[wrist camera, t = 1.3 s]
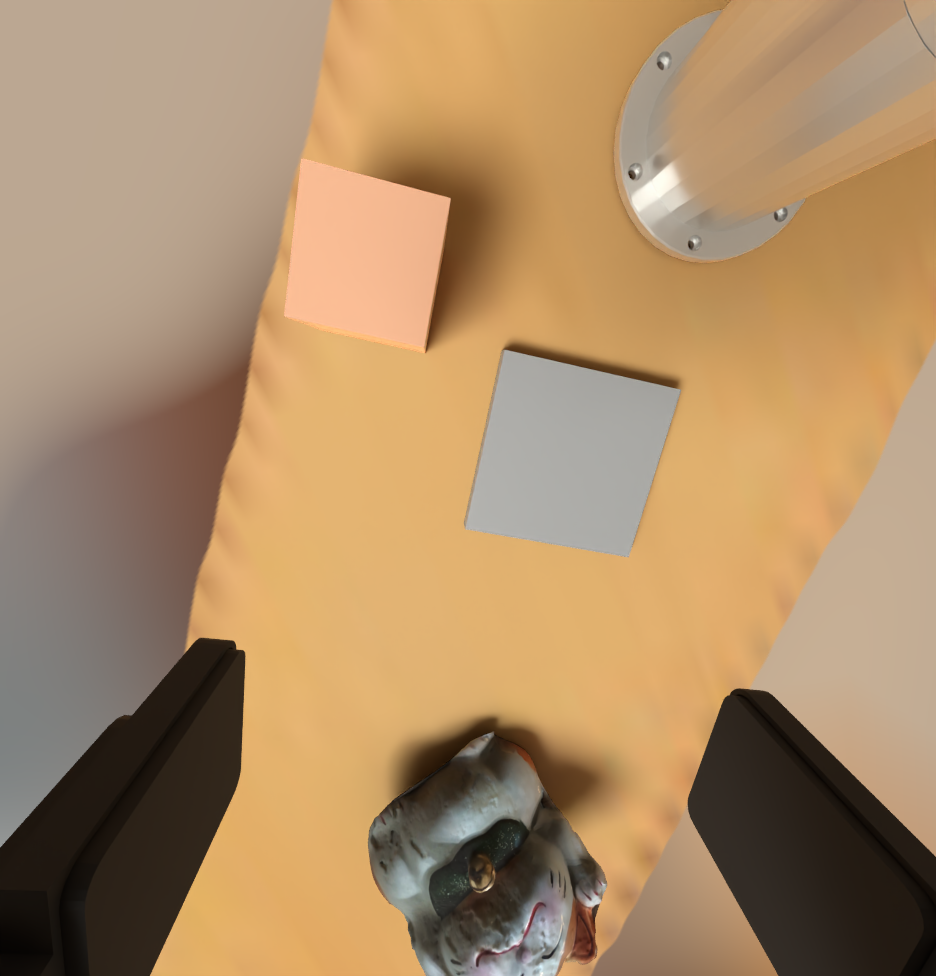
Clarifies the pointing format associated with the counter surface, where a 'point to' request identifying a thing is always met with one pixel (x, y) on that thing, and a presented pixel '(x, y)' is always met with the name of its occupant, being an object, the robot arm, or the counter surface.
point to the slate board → (568, 454)
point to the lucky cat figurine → (487, 868)
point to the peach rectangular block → (365, 256)
